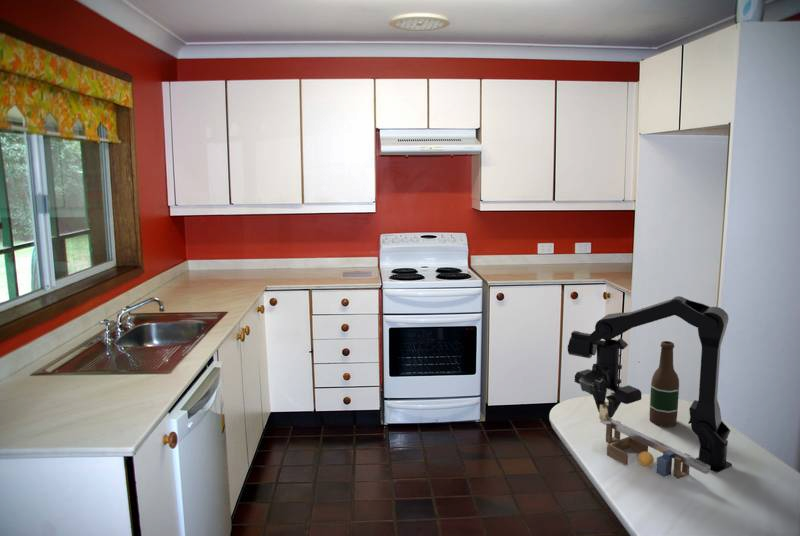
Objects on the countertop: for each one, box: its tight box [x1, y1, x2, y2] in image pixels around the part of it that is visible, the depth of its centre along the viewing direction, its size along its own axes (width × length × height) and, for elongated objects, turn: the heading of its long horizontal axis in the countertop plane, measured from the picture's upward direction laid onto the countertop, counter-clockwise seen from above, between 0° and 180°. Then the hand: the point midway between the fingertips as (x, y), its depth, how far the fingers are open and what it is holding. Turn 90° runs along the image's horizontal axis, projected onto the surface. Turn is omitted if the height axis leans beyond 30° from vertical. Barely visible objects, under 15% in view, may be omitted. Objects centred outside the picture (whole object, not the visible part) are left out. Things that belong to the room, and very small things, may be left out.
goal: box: [606, 436, 649, 466], centre depth 153 cm, size 8×6×3 cm
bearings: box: [605, 420, 691, 480], centre depth 152 cm, size 4×22×5 cm, turn 29°
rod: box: [598, 401, 711, 478], centre depth 150 cm, size 6×32×9 cm, turn 29°
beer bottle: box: [649, 340, 680, 428], centre depth 169 cm, size 8×8×24 cm
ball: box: [637, 451, 655, 468], centre depth 148 cm, size 4×4×4 cm
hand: (605, 414), depth 162 cm, fingers closed on rod, 3 cm apart
